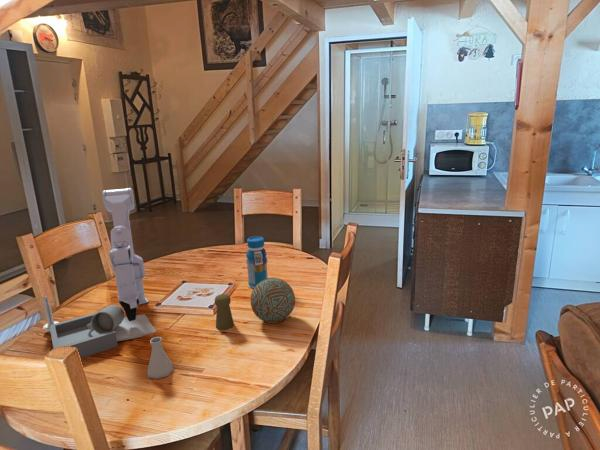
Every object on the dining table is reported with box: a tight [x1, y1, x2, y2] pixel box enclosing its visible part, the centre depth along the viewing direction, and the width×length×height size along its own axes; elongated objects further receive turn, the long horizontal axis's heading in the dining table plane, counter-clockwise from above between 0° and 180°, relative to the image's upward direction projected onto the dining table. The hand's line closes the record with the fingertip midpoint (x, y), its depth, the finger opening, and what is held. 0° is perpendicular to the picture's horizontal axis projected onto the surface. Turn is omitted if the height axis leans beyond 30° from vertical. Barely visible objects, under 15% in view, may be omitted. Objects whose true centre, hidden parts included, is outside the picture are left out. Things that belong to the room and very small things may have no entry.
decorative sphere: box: [250, 277, 296, 324], centre depth 137 cm, size 15×15×15 cm
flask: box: [146, 336, 174, 380], centre depth 112 cm, size 7×7×10 cm
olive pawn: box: [214, 293, 235, 331], centre depth 135 cm, size 6×6×11 cm
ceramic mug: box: [87, 304, 125, 334], centre depth 132 cm, size 11×8×8 cm
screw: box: [42, 295, 60, 334], centre depth 135 cm, size 13×5×5 cm
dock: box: [49, 311, 157, 359], centre depth 132 cm, size 18×29×6 cm, turn 125°
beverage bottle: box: [245, 235, 269, 289], centre depth 165 cm, size 8×8×20 cm
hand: (132, 319), depth 136 cm, fingers closed
